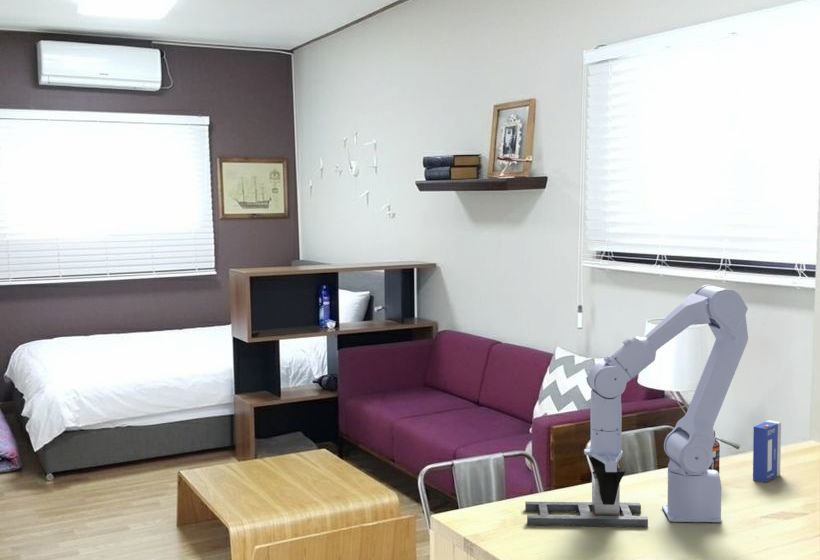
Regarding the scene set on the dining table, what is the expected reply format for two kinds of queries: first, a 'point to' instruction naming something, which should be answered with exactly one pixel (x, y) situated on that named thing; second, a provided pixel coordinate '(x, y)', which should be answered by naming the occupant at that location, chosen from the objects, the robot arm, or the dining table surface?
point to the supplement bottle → (715, 456)
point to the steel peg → (597, 504)
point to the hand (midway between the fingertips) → (606, 498)
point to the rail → (582, 515)
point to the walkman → (766, 451)
